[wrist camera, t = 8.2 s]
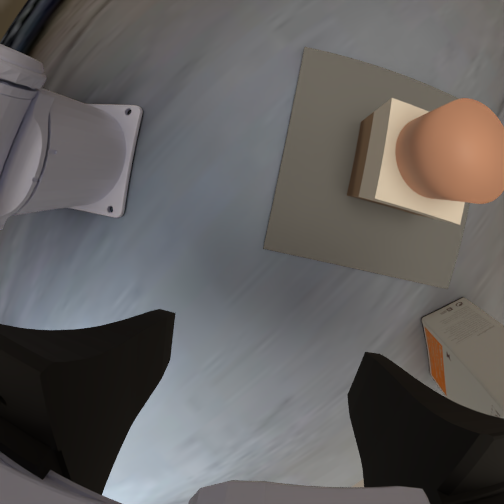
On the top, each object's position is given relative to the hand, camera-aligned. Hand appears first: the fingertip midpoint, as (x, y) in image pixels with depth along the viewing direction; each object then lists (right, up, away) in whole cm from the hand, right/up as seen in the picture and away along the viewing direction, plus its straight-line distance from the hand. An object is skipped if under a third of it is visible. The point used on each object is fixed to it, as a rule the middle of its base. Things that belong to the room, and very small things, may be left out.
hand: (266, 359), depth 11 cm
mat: (+8, +9, +8) cm, 15 cm away
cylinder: (+8, +8, +2) cm, 12 cm away
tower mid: (+8, +9, +5) cm, 13 cm away
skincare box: (+15, -3, +10) cm, 18 cm away
